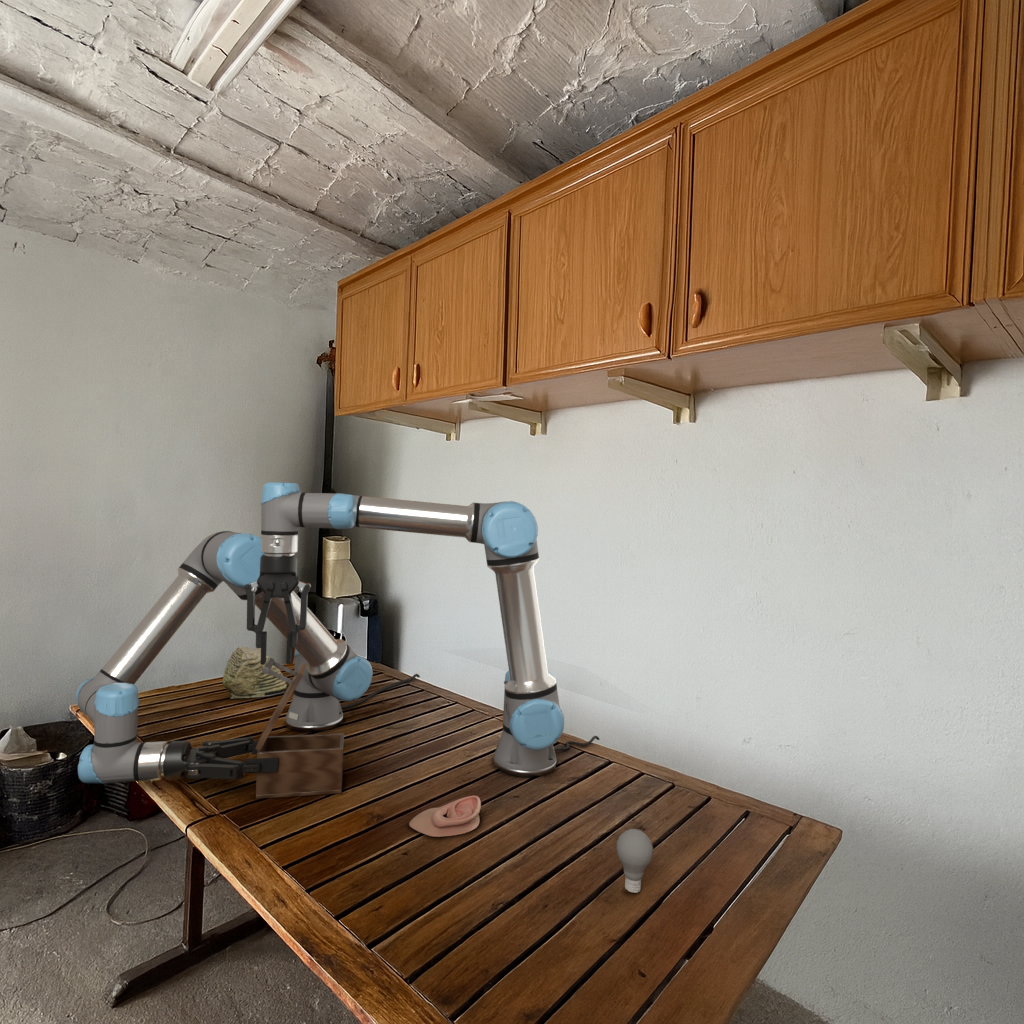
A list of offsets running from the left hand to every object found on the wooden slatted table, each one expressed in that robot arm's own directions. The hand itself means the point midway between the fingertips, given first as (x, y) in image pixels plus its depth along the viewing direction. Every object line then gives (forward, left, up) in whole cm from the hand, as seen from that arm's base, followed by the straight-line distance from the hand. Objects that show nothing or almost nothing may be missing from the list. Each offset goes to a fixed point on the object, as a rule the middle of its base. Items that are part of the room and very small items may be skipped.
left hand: (280, 755), depth 137 cm
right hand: (+1, -1, +20) cm, 20 cm away
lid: (0, 0, +11) cm, 11 cm away
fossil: (-29, -62, -7) cm, 68 cm away
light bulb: (-19, +75, -7) cm, 78 cm away
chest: (-3, +3, -7) cm, 8 cm away
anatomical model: (-14, +37, -7) cm, 40 cm away
